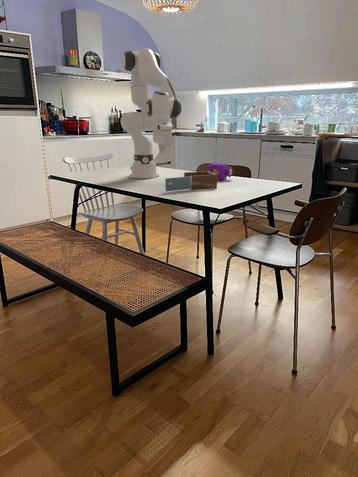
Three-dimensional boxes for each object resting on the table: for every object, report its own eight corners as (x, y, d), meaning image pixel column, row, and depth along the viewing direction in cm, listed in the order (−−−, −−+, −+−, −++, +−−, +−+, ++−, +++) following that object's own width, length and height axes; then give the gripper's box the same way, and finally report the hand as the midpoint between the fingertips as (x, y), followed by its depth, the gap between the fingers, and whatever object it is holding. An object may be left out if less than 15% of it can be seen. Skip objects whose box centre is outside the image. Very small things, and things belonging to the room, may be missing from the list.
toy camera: (231, 181, 218) (232, 163, 215) (208, 180, 221) (208, 163, 218) (232, 178, 228) (233, 161, 225) (210, 177, 231) (210, 161, 228)
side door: (167, 191, 187) (166, 178, 185) (165, 191, 189) (165, 178, 187) (192, 189, 193) (192, 176, 191) (191, 188, 195) (191, 176, 193)
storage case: (184, 185, 208) (184, 172, 206) (208, 183, 211) (208, 171, 209) (191, 189, 195) (191, 176, 193) (216, 187, 199) (217, 174, 196)
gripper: (149, 124, 197) (150, 150, 202) (161, 126, 179) (162, 156, 184) (160, 123, 199) (161, 150, 204) (174, 126, 181) (174, 155, 186)
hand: (161, 153), depth 194 cm, fingers closed
